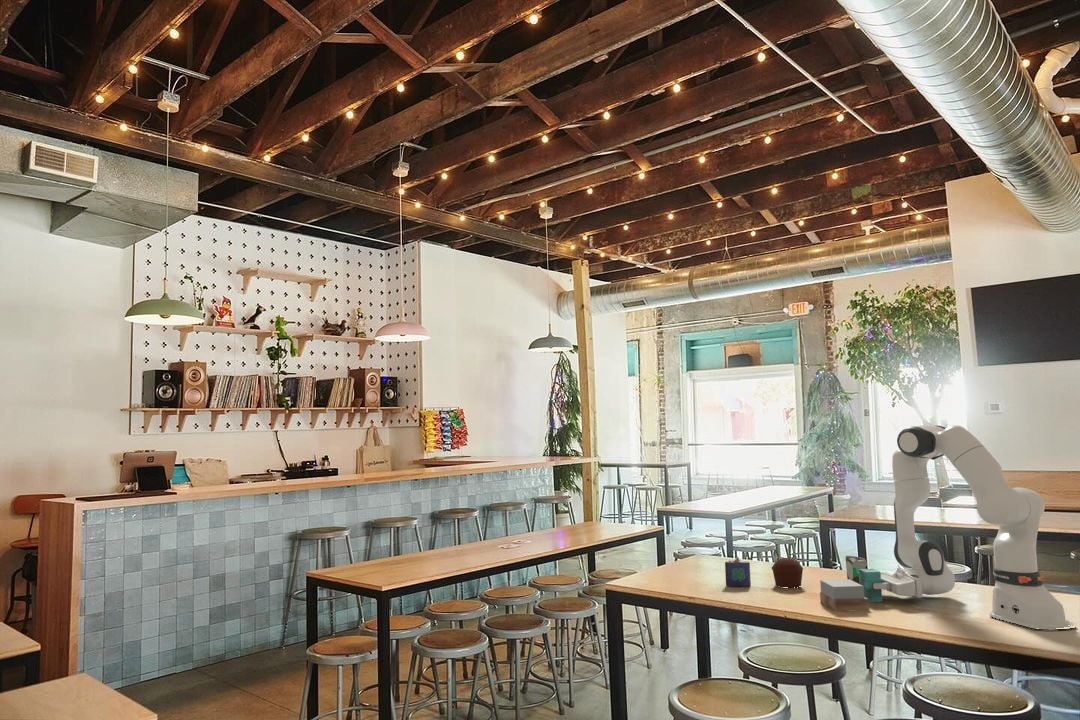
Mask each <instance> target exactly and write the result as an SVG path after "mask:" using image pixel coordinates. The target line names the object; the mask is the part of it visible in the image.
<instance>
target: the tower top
mask: <svg viewBox="0 0 1080 720" xmlns="http://www.w3.org/2000/svg"><path fill="white" fill-rule="evenodd" d="M819 581H820V584H819V585H820V592H821V593H823V594H825V595H827V596H829V597H830V598H832V599H864V586H862V585H860V584H858V583H856V582H854V581H852V580H850V579H820V580H819Z"/></svg>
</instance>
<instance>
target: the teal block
mask: <svg viewBox="0 0 1080 720" xmlns="http://www.w3.org/2000/svg"><path fill="white" fill-rule="evenodd" d="M881 572H882V571H880V570H877V569H874V568H865V569H859V584H860V585H862V586H864V597H866V598H868V599H869V602H870V603H882V602H883V592H882V591H883V589H874V588H872V583H881Z"/></svg>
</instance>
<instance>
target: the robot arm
mask: <svg viewBox="0 0 1080 720" xmlns="http://www.w3.org/2000/svg"><path fill="white" fill-rule="evenodd" d="M896 444H897V447H898V449H897V450H896V451H894V452H893V454H892V458H891V460H892V462H891V463H892V465H891V466H892V467H891V468H892V477H893V483H894V495H895V497H894V501H893V514H894V525H895V527H894V528H895V542H894V547H893V555H894V558H895V560H896V561H897V563H898V564H899V565H900V566H901V567H903V568H898V569H897V570H895V572H894V573H893V574H891V573H890V572H889V573H888V572H884V571H880V572H881V583H872V588H874V589H882V591H886V592H887V591H888V593H892V594H894V595H897V596H902V597H914V598H916V599H917V598H919V599H920V598H923V595H927V596H933V595H943V594H947V593H949V592H951V591H952V590H953V589H954V587H955V584H956V577H955V573H954V572H953V571H952V570H951V569H950V568H949V566H948V565H947V563H946V561H945V557H944V551H943V549H942V548H941V546H940V545H939V544H937V543H936V542H934V541H931V540H919V539H917V537H916V533H915V531H916V530H915V512H916V511H917V509H918V508H919V507H920V506H921V505H923V504H924V503H925V502H927V501H928V499H929V497H930V496H931V483H930V479H929V474H928V467H927V465H928V462H929V460H936V459H938V458H942V457H943V456H945V458H947V460H949V462H950V463H951V465H952V466H953V467H954V468H955V470H956V471H957V472H958V473H959V474H960V475H961V477H962V478H963V479H964V480H965V481H966V482H965V483H967V484H968V486H969V487H970V490H971V492H972V493H973V496H974V498H975V501H976V510H977V513H978V516H979V517H980V518H981V519H982V520H983V521H984V522H986V523H988V524H990V525H993V526H998V530H997V534H996V536H995V537H994V540H993V543H992V545H993V557H994V558H993V559H994V567H993V572H992V573H993V580H995V584H994V587H993V588H992V601H991V602H992V606H991V607H992V609H991V610H992V611H991V612H990V613H989V618H992V617H993V618H992V619H995V618H996V620H999V619H1000V620H999V621H1002V620H1004V621H1003V622H1006V621H1007V622H1006V623H1009V622H1011V623H1010V624H1012V623H1016V624H1019V625H1023V626H1027V627H1031V628H1039V629H1056V628H1064V627H1070V626H1071V625H1072V626H1073V625H1074V624H1075V623H1074V622H1073V621H1070V620H1068V619H1066V614H1065V610H1064V609H1065V608H1064V607H1063V603H1061V602H1060V601H1059V600H1058V599H1057V598H1056V597H1055V596H1054V595H1053V594H1052V593H1051V592H1050V591H1049V590H1048V589H1047V588H1046V587H1045V585H1044V581H1046V579H1045V578H1046V577H1045V576H1041V573H1040V571H1039V569H1038V561H1037V560H1038V559H1037V538H1038V531H1039V528H1040V521H1041V517H1042V516H1043V514H1044V512H1045V508H1046V503H1045V500H1044V498H1043V497H1042V496H1041V494H1039V493H1038V492H1037V491H1036V490H1033V489H1030V488H1025V487H1023V486H1022V487H1012V486H1010V485H1009V484H1008V483H1007V481H1006V479H1005V478H1004V475H1003V473H1002V465H1000V463H999V462H998V461H997V460H996V458H995V457H994V456H993V455H992V454H991V452H989V450H988V449H987V448H986V447H985V446H984V445H983V443H981V442H980V440H978V438H977V437H976V436H974V435H973V433H971V432H970V431H969V430H967V429H966V428H965V427H964V426H961V425H950V426H947V427H945V426H941V425H925V424H923V425H914V426H913V425H911V426H909V427H906V428H904V429H902V430H901V431H900V432H899V433H898V435H897V439H896ZM1016 624H1015V625H1016ZM1019 625H1018V626H1019ZM1068 625H1070V626H1068ZM1023 626H1022V627H1023Z"/></svg>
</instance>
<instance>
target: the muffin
mask: <svg viewBox="0 0 1080 720" xmlns="http://www.w3.org/2000/svg"><path fill="white" fill-rule="evenodd" d="M771 570H772V573H773V579H774V583H775V586H776V585H777V586H780V587H788V588H794V587H795V588H796V589H798V588H797V587H799V586H801V587H802V581H803V580H802V579H803V573H804V572H803V571H804V568H803V566H802V565H801V564H800V562H799V561H797V560H796V559H794V558H792V557H782V558H779V559H778V560H776V561H775V562H774V563H773V565H772V566H771ZM777 586H776V587H777ZM780 587H779V588H780Z"/></svg>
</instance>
